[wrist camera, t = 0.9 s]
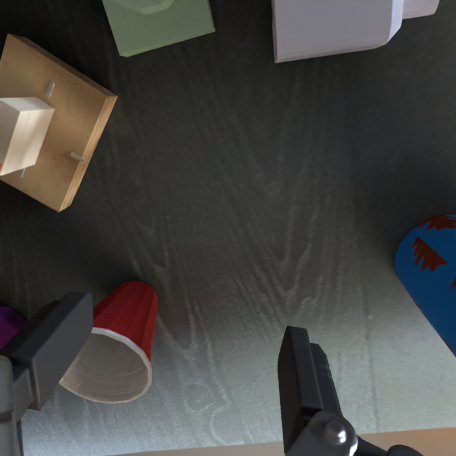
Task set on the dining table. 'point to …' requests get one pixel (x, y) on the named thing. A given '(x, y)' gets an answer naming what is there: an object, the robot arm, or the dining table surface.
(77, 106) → the panel
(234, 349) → the dining table surface
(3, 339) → the perfume bottle
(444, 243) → the thermos
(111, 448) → the dining table surface
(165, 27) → the button box
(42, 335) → the robot arm
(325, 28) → the charger
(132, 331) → the plastic cup
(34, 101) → the knob
